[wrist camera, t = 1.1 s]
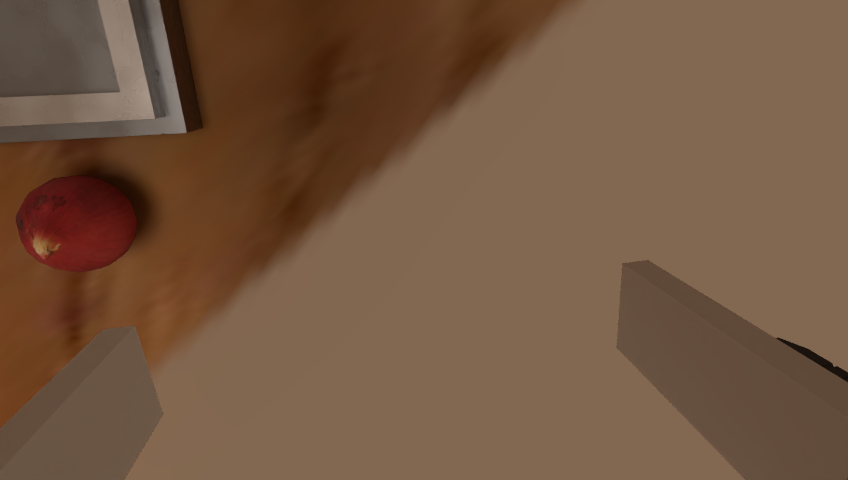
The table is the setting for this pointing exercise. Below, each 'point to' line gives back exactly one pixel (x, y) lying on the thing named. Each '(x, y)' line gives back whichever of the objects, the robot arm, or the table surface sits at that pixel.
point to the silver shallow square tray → (94, 70)
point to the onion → (76, 223)
